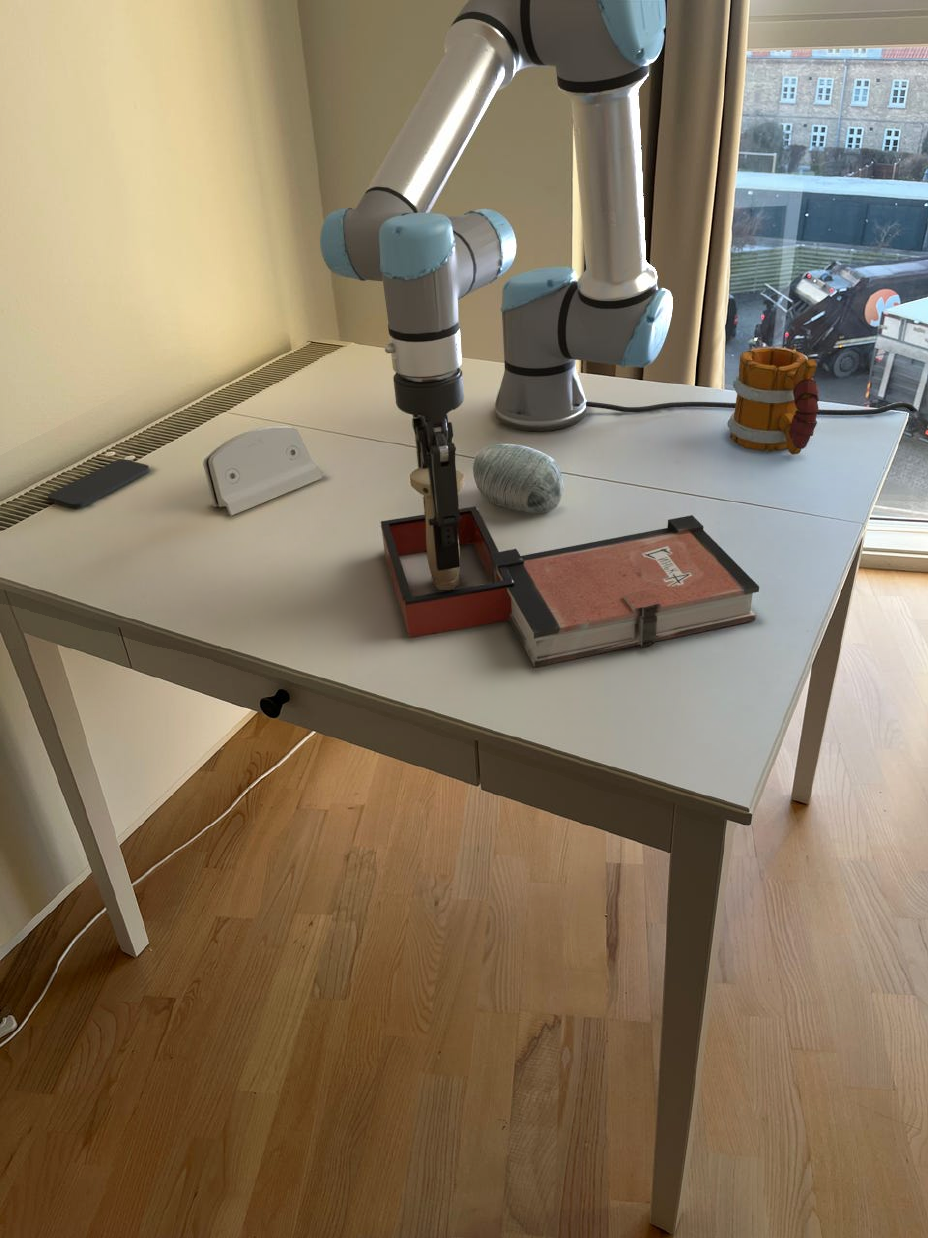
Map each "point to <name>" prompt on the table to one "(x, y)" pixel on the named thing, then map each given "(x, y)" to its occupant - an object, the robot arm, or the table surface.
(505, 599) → the red black rectangular frame
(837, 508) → the table surface
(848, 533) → the table surface
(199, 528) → the table surface
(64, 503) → the phone
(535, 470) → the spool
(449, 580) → the handle
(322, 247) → the robot arm
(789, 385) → the mug
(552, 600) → the book
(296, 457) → the white piece
